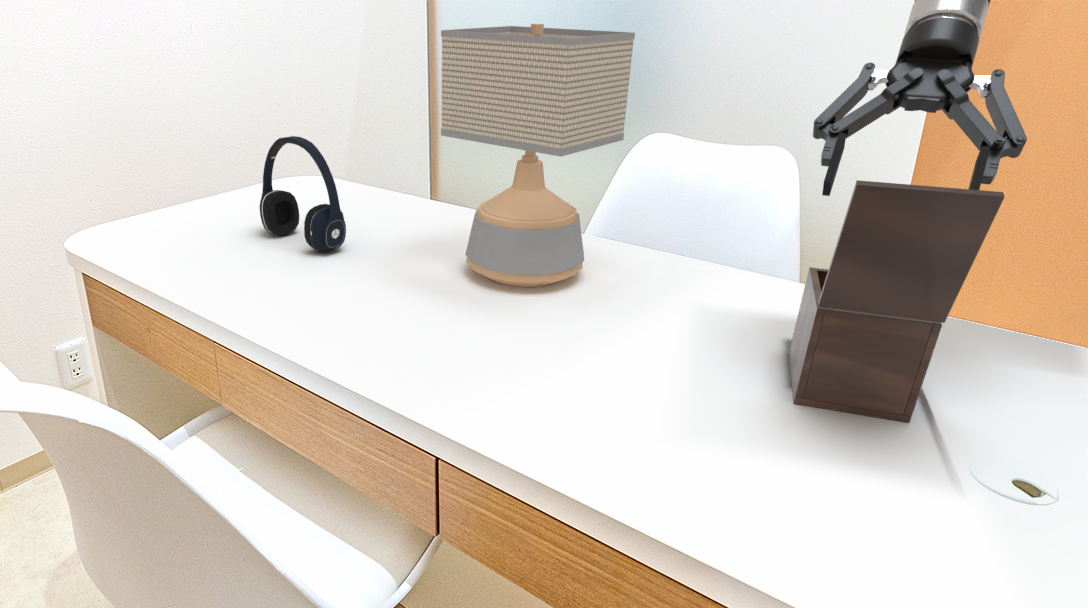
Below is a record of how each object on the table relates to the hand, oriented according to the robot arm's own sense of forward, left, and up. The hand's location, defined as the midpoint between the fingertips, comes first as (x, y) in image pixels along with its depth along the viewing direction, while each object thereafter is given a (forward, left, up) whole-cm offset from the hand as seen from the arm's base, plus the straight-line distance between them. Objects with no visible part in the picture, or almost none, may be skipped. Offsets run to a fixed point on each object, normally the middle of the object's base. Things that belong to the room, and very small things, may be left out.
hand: (895, 197), depth 81 cm
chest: (0, +3, -22) cm, 22 cm away
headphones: (+86, -21, -22) cm, 91 cm away
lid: (0, +12, -2) cm, 12 cm away
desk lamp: (+45, -20, -22) cm, 54 cm away
